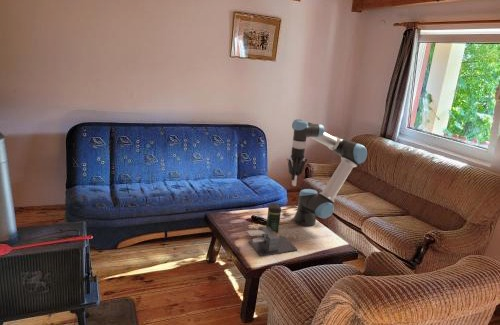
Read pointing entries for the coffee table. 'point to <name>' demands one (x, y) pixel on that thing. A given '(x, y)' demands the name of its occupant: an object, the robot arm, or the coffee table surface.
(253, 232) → the keeper
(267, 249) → the hitch block
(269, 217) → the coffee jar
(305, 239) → the coffee table surface
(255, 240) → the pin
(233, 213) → the coffee table surface
